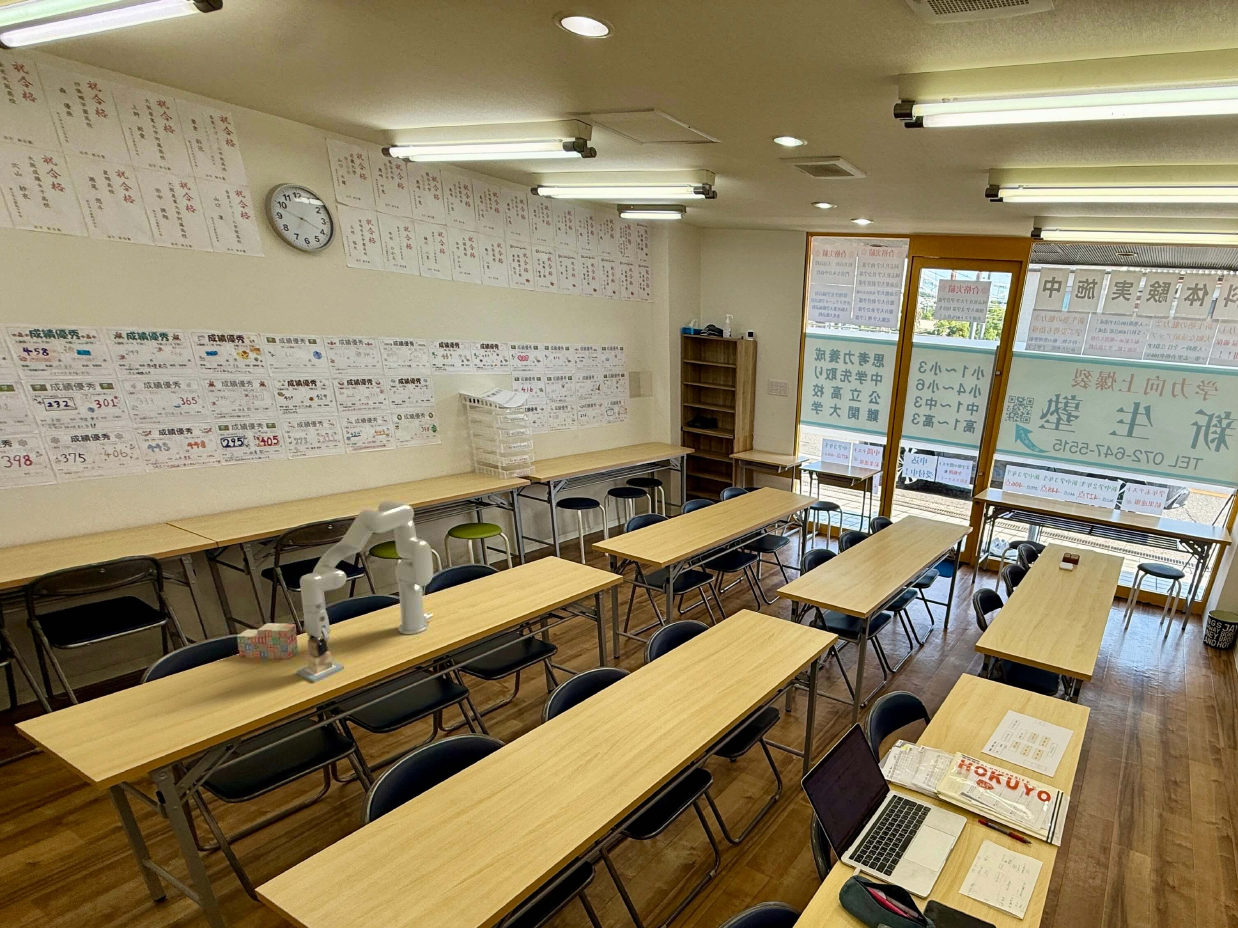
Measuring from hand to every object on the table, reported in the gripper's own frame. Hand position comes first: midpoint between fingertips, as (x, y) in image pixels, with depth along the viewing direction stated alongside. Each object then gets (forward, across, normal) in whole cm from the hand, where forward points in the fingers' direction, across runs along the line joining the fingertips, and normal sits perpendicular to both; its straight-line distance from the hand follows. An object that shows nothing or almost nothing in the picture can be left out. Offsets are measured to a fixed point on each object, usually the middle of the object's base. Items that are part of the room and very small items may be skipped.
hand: (318, 650), depth 222 cm
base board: (+9, 0, 0) cm, 9 cm away
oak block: (+7, 0, 0) cm, 7 cm away
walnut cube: (+1, 0, 0) cm, 1 cm away
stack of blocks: (+9, +31, +4) cm, 32 cm away
